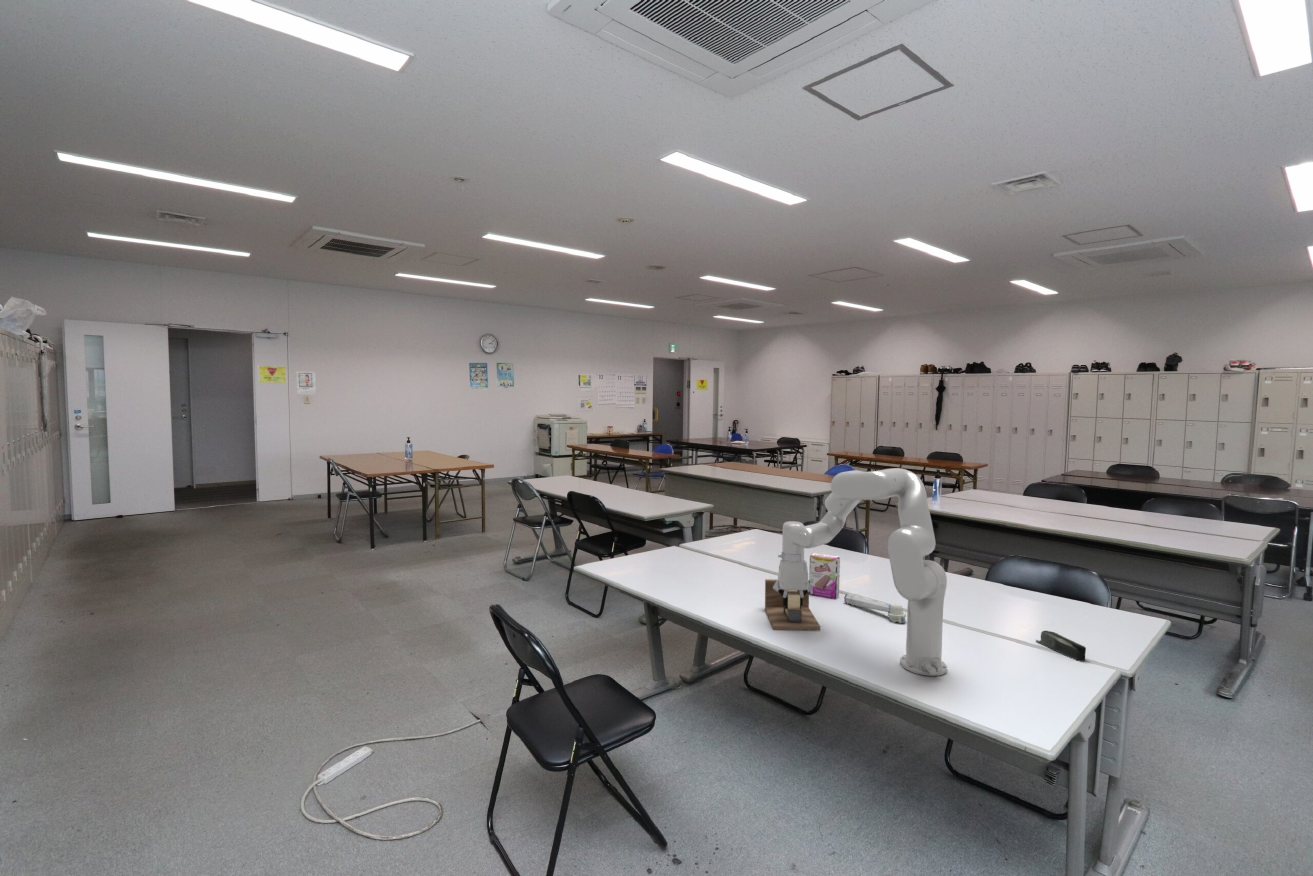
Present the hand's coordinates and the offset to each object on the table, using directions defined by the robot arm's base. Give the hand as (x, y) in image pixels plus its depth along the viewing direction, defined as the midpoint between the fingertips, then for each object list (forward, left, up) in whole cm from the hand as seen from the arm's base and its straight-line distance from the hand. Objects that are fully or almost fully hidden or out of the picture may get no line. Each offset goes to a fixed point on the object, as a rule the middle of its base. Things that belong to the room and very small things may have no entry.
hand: (792, 607), depth 207 cm
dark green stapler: (-21, -79, -6) cm, 82 cm away
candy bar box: (+28, -18, -5) cm, 34 cm away
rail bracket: (0, 0, -3) cm, 3 cm away
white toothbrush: (+10, -32, -6) cm, 34 cm away
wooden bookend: (+2, 0, -5) cm, 6 cm away
